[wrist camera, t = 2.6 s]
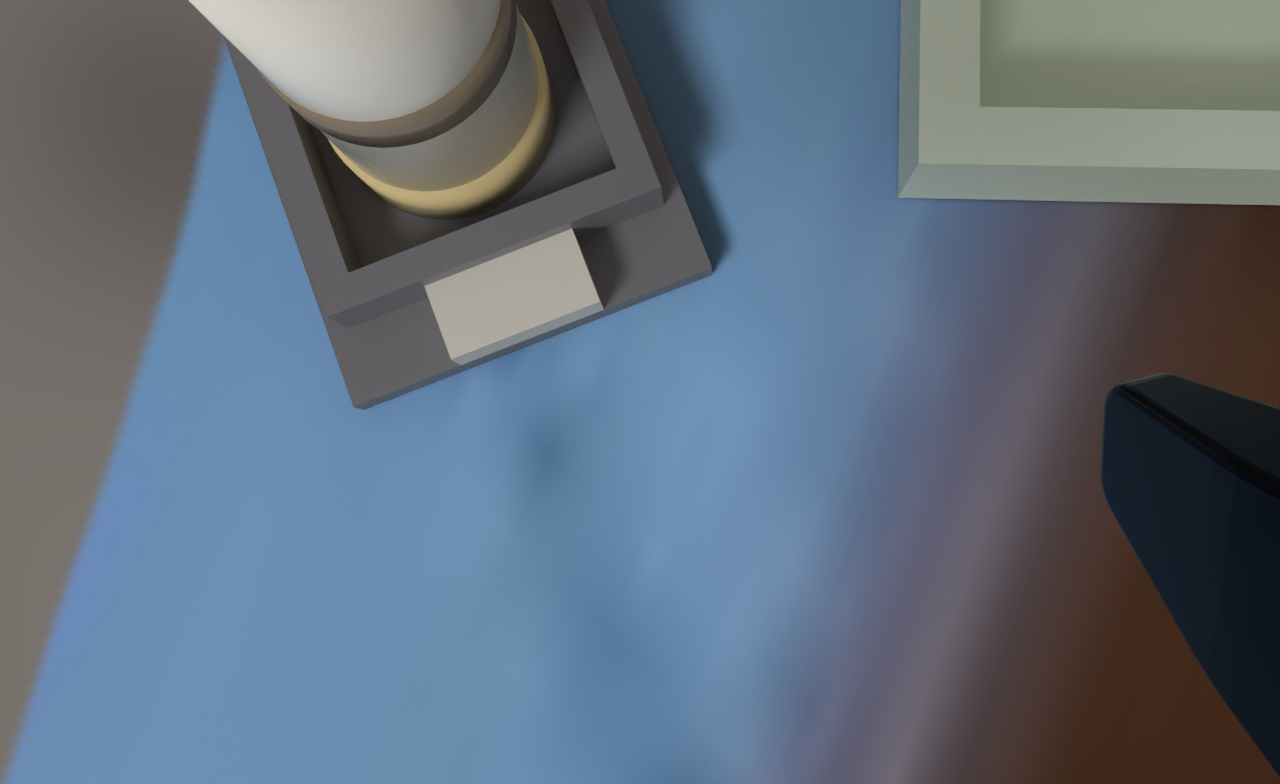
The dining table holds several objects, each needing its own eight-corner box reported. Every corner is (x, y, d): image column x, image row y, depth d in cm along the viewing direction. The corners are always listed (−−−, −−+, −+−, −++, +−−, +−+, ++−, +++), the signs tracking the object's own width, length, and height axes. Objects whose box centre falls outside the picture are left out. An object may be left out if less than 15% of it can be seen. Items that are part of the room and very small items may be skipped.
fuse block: (712, 273, 21) (712, 252, 19) (363, 410, 21) (332, 400, 20) (545, -146, 22) (531, -203, 21) (214, -15, 22) (171, -60, 21)
